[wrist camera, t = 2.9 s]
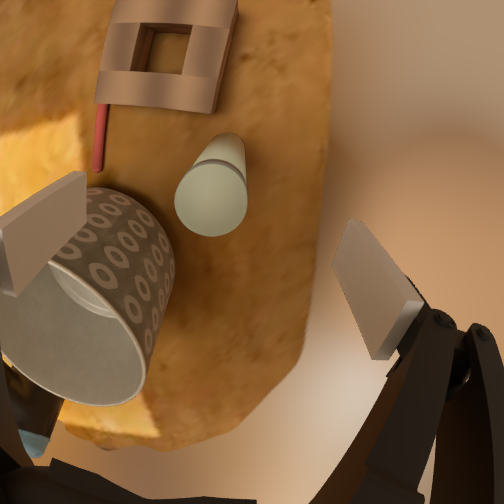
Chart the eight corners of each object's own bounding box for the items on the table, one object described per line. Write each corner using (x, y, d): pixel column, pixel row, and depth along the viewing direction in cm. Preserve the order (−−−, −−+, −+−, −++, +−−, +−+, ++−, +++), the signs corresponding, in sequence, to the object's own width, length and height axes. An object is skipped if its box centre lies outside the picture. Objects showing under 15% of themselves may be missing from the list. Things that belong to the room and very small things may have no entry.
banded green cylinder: (205, 164, 33) (170, 230, 17) (211, 129, 31) (178, 160, 15) (241, 170, 33) (240, 242, 18) (248, 135, 31) (255, 174, 16)
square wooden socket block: (113, 101, 29) (94, 103, 24) (133, 6, 23) (117, -6, 19) (215, 112, 30) (210, 114, 26) (238, 12, 25) (237, -2, 20)
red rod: (103, 171, 32) (99, 174, 31) (94, 171, 32) (90, 173, 31) (113, 80, 27) (109, 79, 26) (104, 79, 27) (100, 79, 26)
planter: (182, 184, 34) (132, 266, 18) (179, 313, 43) (156, 421, 27) (47, 178, 32) (-47, 240, 16) (66, 296, 41) (13, 381, 25)
